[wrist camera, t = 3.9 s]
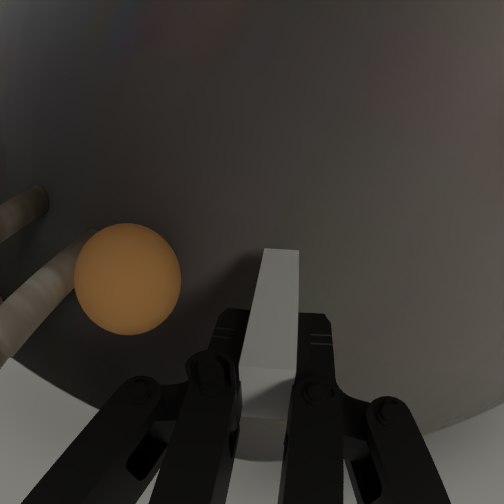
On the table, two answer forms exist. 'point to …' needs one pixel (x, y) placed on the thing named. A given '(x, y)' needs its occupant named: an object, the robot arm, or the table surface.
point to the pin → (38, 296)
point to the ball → (127, 279)
